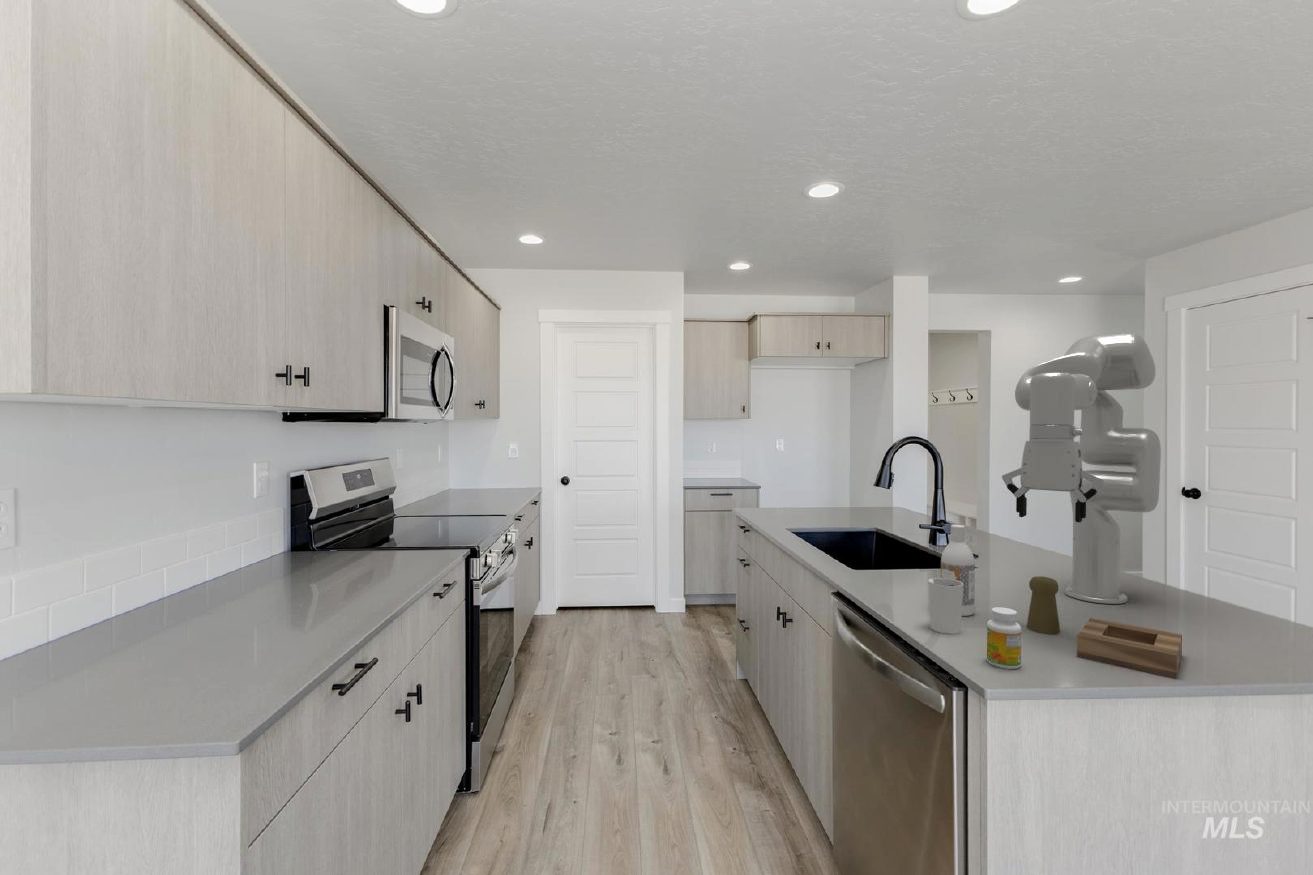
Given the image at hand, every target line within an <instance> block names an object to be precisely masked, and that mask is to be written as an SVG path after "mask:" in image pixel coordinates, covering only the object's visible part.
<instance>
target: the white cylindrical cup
mask: <svg viewBox="0 0 1313 875" xmlns="http://www.w3.org/2000/svg"><path fill="white" fill-rule="evenodd" d="M927 581H928V598H929V599H928V602H929V603H928V604H929V624H930V625H929V627H930V630H932V629H933V630H932V631H935V632H937V633H940V634H941V633H942V634H947V633H950V634H949V635H952V634H953V635H955V634H959V633H961V629H962V616H961V615H962V598H963V583H962V582H960V581H957V580H953V579H946V578H941V577H934V578H929V579H928V580H927Z"/></svg>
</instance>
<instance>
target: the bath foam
mask: <svg viewBox="0 0 1313 875" xmlns="http://www.w3.org/2000/svg"><path fill="white" fill-rule="evenodd" d="M974 557H975V556H974V554H973V551H972V550H971V548H970V547H969V545H968V543H966V526H965V525H962V524H951V525H950V541H949V543H948V544H947V545H946V546H945V548H944V549H943V551H942V554H941V559H940V578H946V579H953V580H957V581H960V582H962V583H963V598H962V615H961V617H968V616H972V615H974V613H975V595H976V594H975V588H976V587H975V585H976V584H975V580H976V579H975V577H976V576H975V574H976V572H975V571H976V568H975V567H976V566H975V565H976V563H975V562H976V561H975V558H974Z"/></svg>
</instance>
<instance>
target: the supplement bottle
mask: <svg viewBox="0 0 1313 875" xmlns="http://www.w3.org/2000/svg"><path fill="white" fill-rule="evenodd" d="M991 618H992V619H989V620H988V621H987V624H986V661H987V662H988V664H990V665H992V666H994V667H998V668H1001V669H1006V670H1015V669H1019V668H1020V667H1021V665H1022V627H1021V624H1019V623H1017V622H1016V621H1017V620H1018V612H1017V610H1014V609H1012V608H1008V607H1001V606H999V607H998V606H997V607H992V609H991Z"/></svg>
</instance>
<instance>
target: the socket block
mask: <svg viewBox="0 0 1313 875" xmlns="http://www.w3.org/2000/svg"><path fill="white" fill-rule="evenodd" d="M1076 638H1077V641H1076V642H1077V643H1076V645H1077V646H1076V647H1077V649H1076V652H1077V653H1076V654H1077V656H1076V657H1077V658H1082V659H1087V660H1091V661H1095V662H1100V663H1105V664H1108V665H1109V664H1110V665H1113V666H1117V667H1122V668H1123V667H1124V668H1127V669H1132V670H1136V671H1140V672H1145V673H1150V674H1154V675H1158V676H1164V677H1168V678H1172V679H1177V677H1178V673H1179V668H1180V664H1181V660H1182V656H1183V655H1182V654H1183V652H1182V651H1183V633H1177V632H1171V631H1167V630H1166V631H1165V630H1160V629H1156V628H1155V629H1154V628H1149V627H1143V626H1137V625H1132V624H1126V623H1121V622H1115V621H1110V620H1105V619H1101V618H1095V617H1090V618H1089V619H1088V620H1087V622H1086V623H1085V625H1084V626H1083V627H1082V628H1081V630H1080V631H1079V632H1078V634H1077V636H1076Z"/></svg>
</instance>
